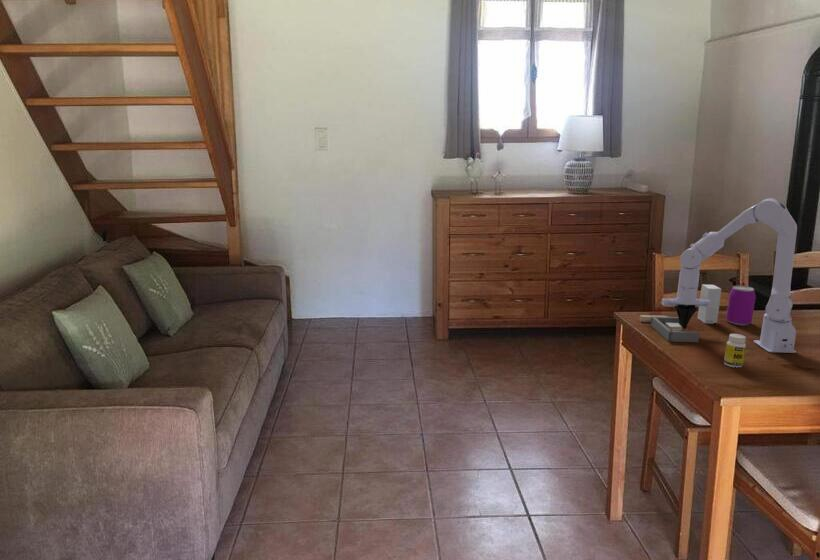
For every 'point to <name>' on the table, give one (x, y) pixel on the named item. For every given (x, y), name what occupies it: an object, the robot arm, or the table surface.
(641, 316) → the scraper
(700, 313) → the skincare box
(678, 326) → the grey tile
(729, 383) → the table surface
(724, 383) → the table surface
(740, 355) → the supplement bottle
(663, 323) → the box
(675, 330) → the walnut tile
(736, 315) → the beverage can
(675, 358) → the table surface
